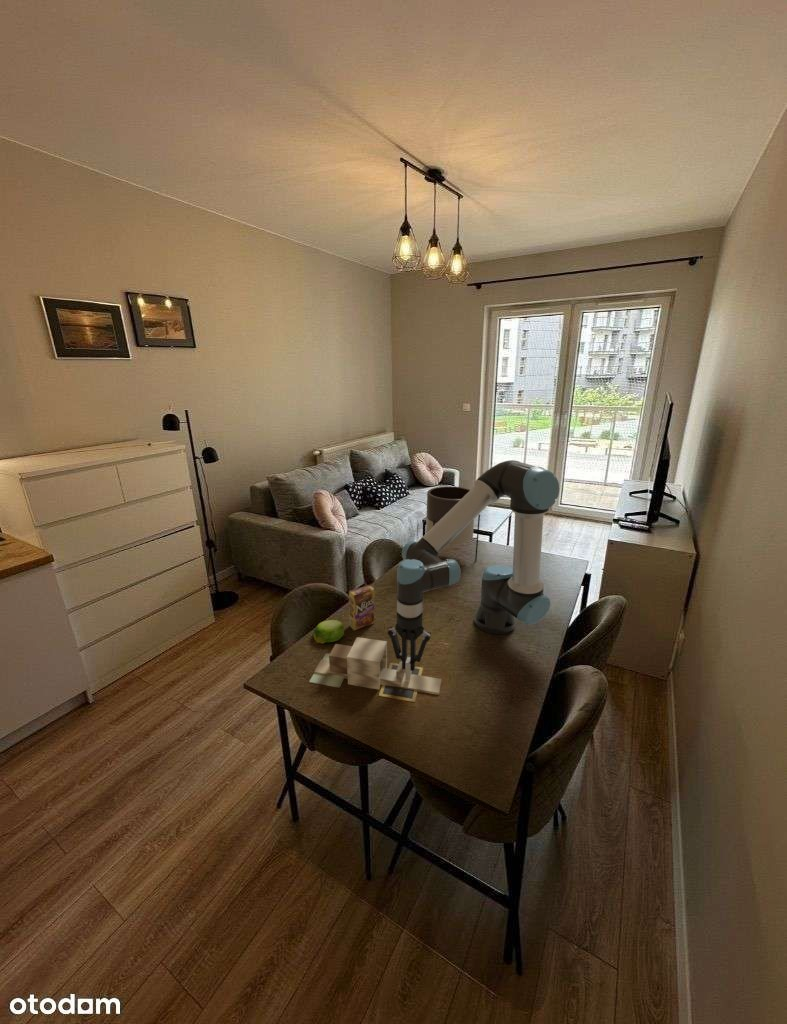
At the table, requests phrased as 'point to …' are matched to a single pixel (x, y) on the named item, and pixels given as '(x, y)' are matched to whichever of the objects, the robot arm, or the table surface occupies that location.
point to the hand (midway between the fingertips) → (408, 677)
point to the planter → (441, 504)
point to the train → (340, 666)
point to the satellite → (375, 672)
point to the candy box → (361, 607)
